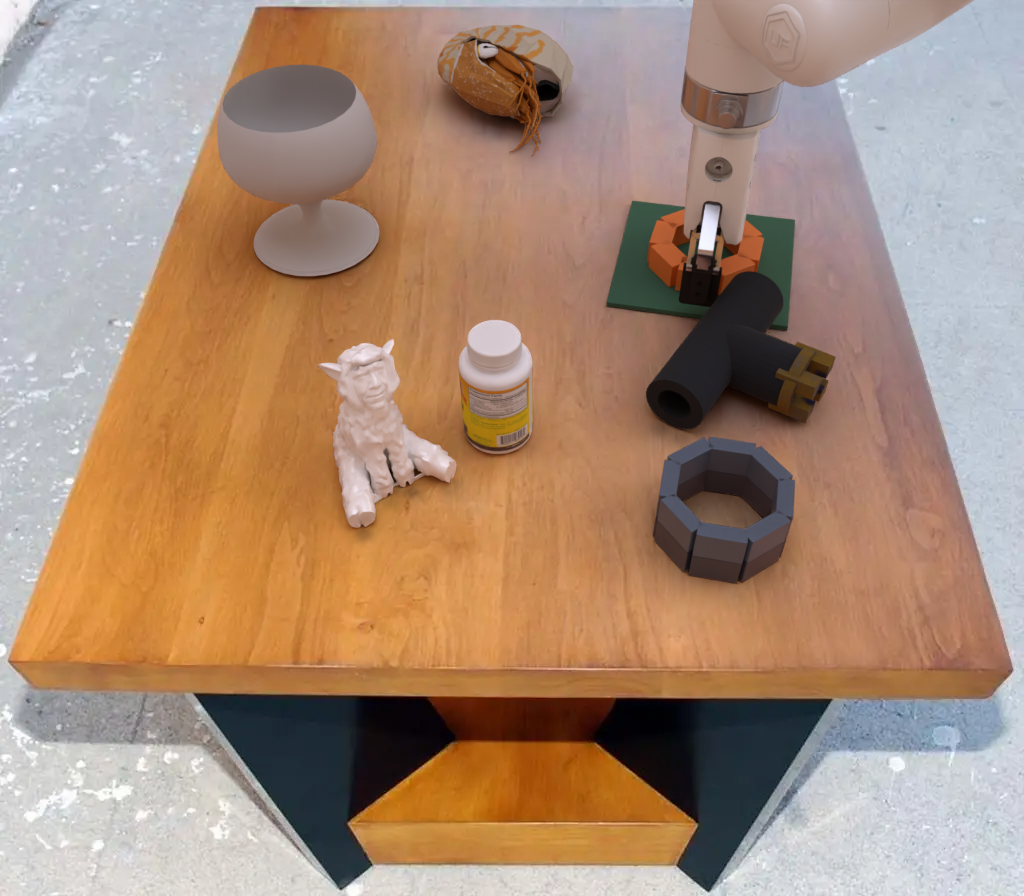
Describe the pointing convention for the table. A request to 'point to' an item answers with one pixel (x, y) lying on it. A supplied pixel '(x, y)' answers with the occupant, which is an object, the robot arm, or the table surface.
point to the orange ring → (671, 259)
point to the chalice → (301, 164)
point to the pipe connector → (739, 359)
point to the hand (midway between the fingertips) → (702, 268)
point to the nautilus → (508, 73)
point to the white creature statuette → (376, 433)
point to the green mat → (650, 293)
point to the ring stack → (728, 473)
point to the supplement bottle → (496, 388)
